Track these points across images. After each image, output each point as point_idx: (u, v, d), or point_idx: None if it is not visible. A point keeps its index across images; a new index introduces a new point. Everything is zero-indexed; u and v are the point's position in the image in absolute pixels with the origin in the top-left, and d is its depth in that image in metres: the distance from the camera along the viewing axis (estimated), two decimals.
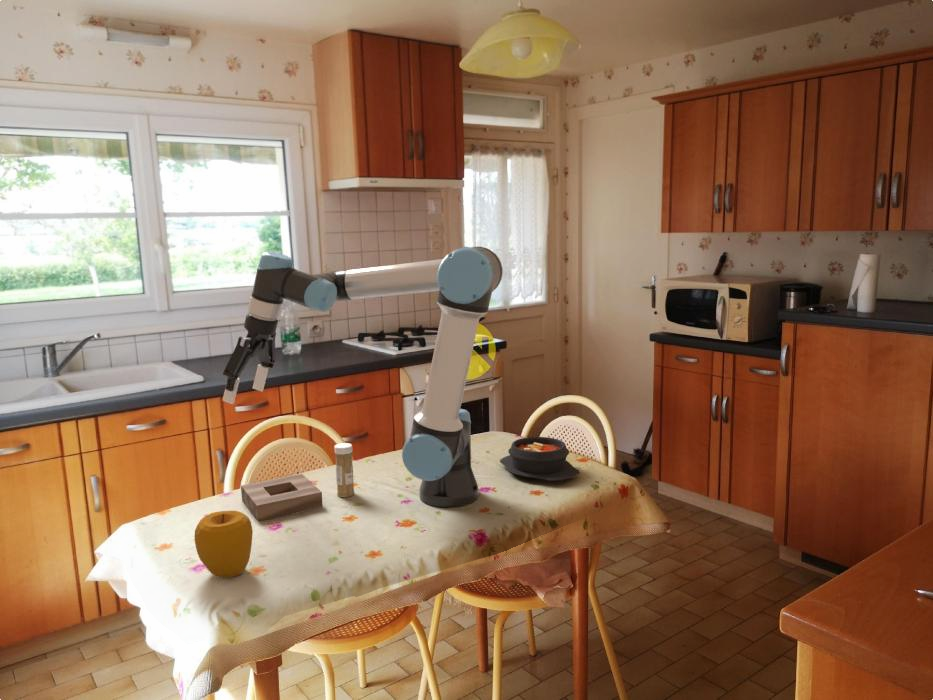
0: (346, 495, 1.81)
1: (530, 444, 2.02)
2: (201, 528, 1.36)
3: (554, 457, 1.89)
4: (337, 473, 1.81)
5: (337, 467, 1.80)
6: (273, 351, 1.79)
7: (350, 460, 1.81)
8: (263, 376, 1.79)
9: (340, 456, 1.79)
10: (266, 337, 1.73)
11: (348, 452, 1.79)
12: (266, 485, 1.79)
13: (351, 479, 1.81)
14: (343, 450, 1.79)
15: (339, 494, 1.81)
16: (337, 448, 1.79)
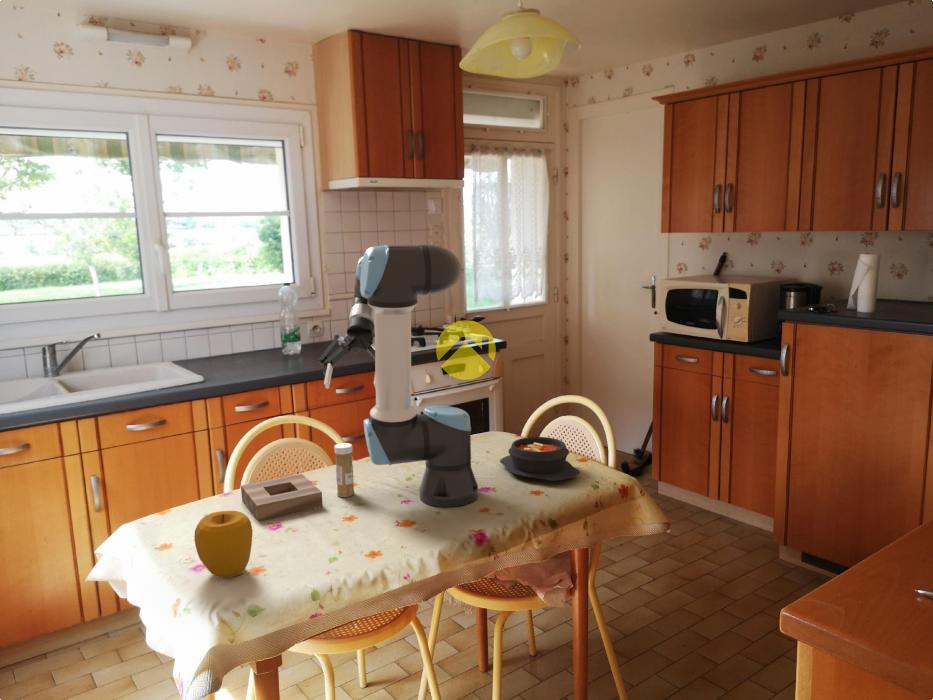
0: (346, 495, 1.81)
1: (530, 444, 2.02)
2: (201, 528, 1.36)
3: (554, 457, 1.89)
4: (337, 473, 1.81)
5: (337, 467, 1.80)
6: None
7: (350, 460, 1.81)
8: None
9: (340, 456, 1.79)
10: (366, 337, 1.97)
11: (348, 452, 1.79)
12: (266, 485, 1.79)
13: (351, 479, 1.81)
14: (343, 450, 1.79)
15: (339, 494, 1.81)
16: (337, 448, 1.79)
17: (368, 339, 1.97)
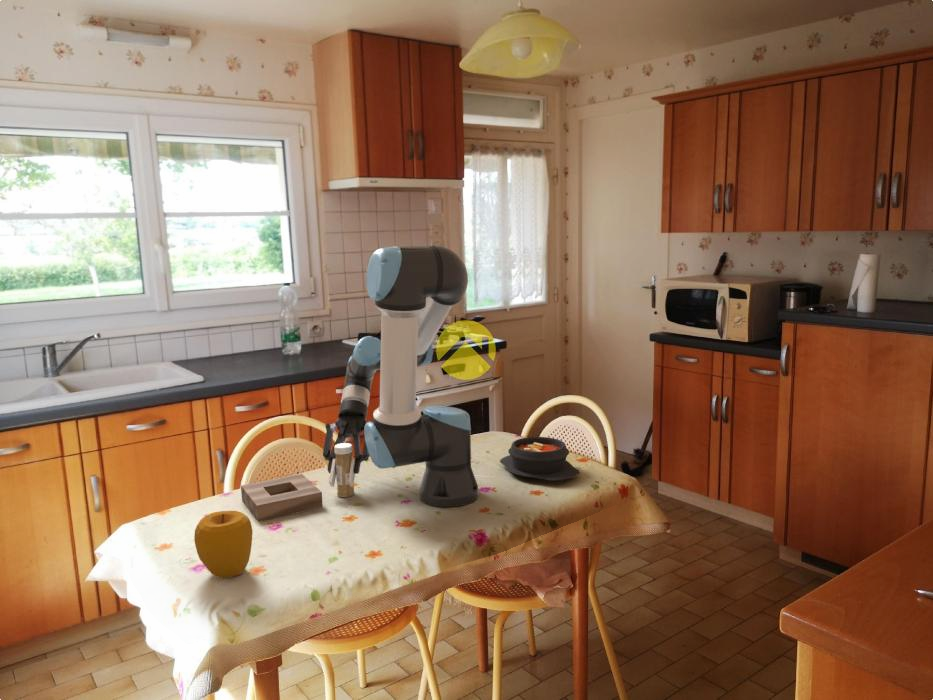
0: (346, 495, 1.81)
1: (530, 444, 2.02)
2: (201, 528, 1.36)
3: (554, 457, 1.89)
4: (337, 473, 1.81)
5: (337, 467, 1.80)
6: (366, 442, 1.84)
7: (350, 460, 1.81)
8: None
9: (340, 456, 1.79)
10: (359, 420, 1.88)
11: (348, 452, 1.79)
12: (266, 485, 1.79)
13: None
14: (343, 450, 1.79)
15: (339, 494, 1.81)
16: (337, 448, 1.79)
17: (359, 424, 1.87)
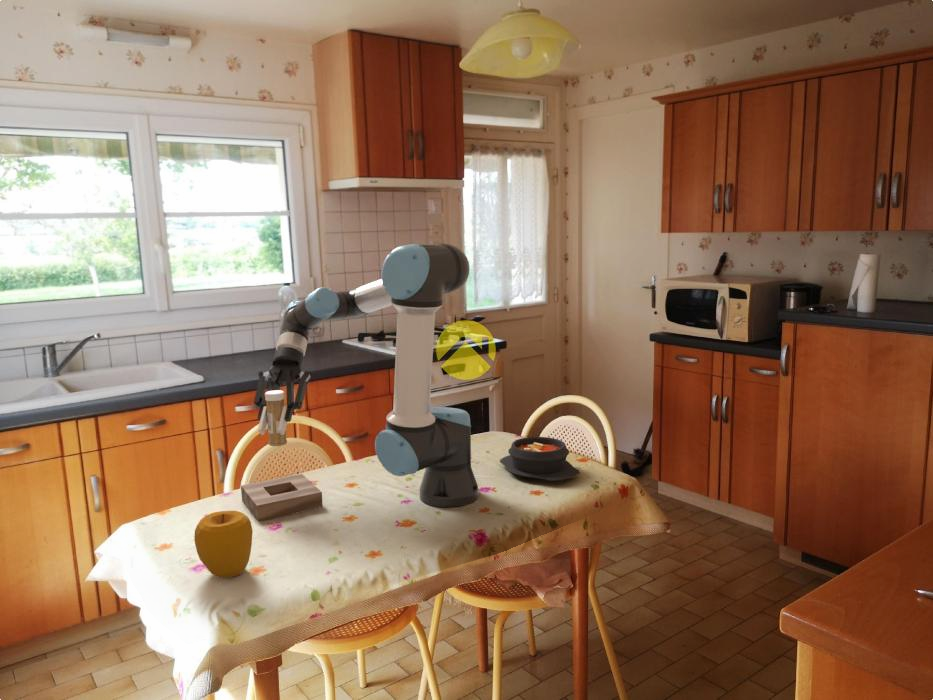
0: (277, 444, 1.73)
1: (530, 444, 2.02)
2: (200, 528, 1.36)
3: (554, 457, 1.89)
4: (268, 421, 1.73)
5: (268, 415, 1.72)
6: (299, 390, 1.76)
7: (281, 407, 1.73)
8: None
9: (270, 402, 1.71)
10: (294, 368, 1.80)
11: (279, 399, 1.72)
12: (266, 485, 1.79)
13: None
14: (273, 397, 1.71)
15: (270, 443, 1.73)
16: (267, 394, 1.71)
17: (294, 371, 1.79)
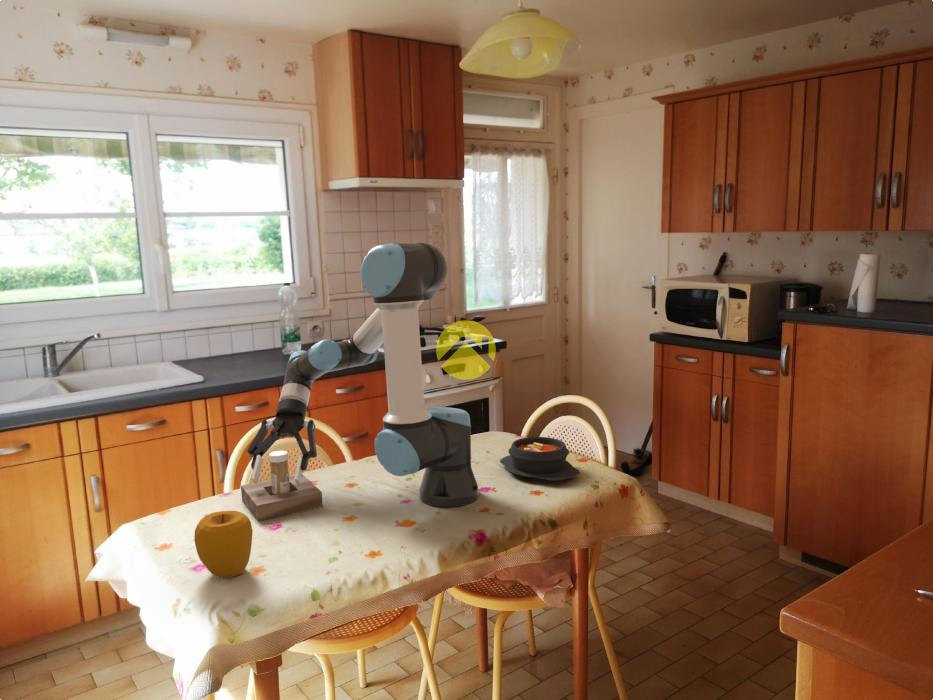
0: None
1: (530, 444, 2.02)
2: (200, 528, 1.36)
3: (554, 457, 1.89)
4: (272, 482, 1.75)
5: (272, 475, 1.75)
6: (310, 439, 1.78)
7: (285, 468, 1.75)
8: None
9: (274, 464, 1.74)
10: (296, 420, 1.82)
11: (283, 460, 1.74)
12: (266, 485, 1.79)
13: (287, 488, 1.76)
14: (277, 458, 1.73)
15: None
16: (271, 456, 1.74)
17: (298, 423, 1.81)
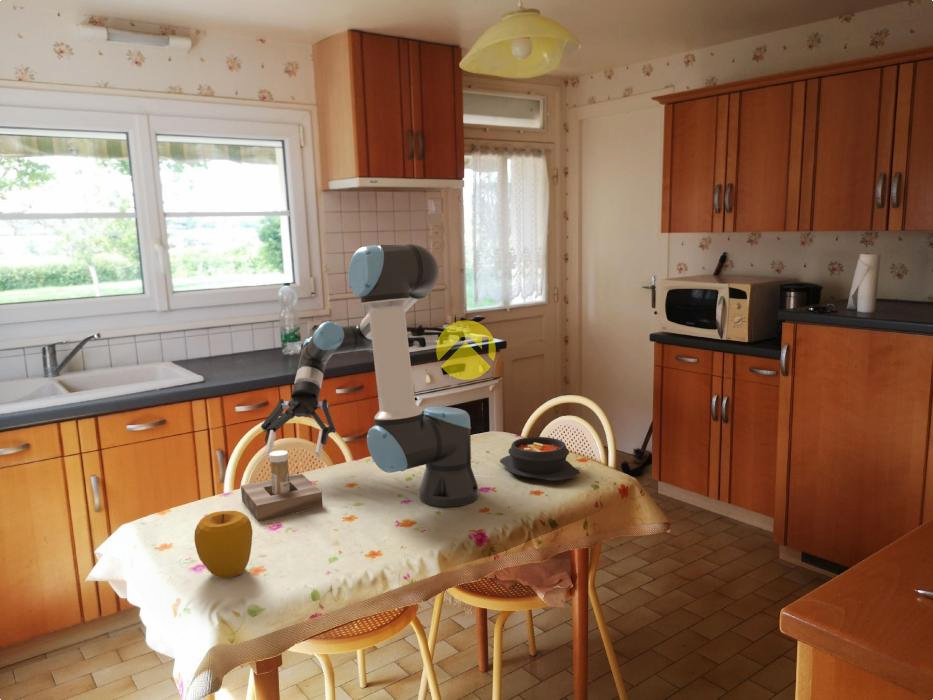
0: None
1: (530, 444, 2.02)
2: (200, 528, 1.36)
3: (554, 457, 1.89)
4: (272, 481, 1.75)
5: (272, 475, 1.75)
6: (327, 416, 1.91)
7: (285, 468, 1.75)
8: None
9: (274, 464, 1.74)
10: (311, 401, 1.94)
11: (283, 460, 1.74)
12: (266, 485, 1.79)
13: (287, 488, 1.76)
14: (278, 458, 1.73)
15: None
16: (272, 456, 1.74)
17: (312, 404, 1.93)
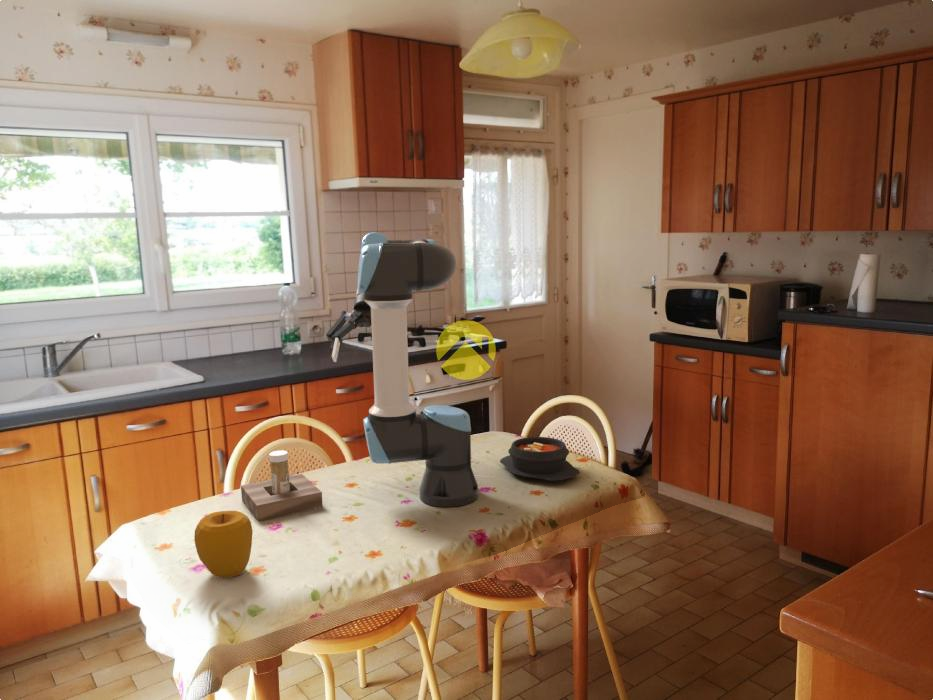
0: None
1: (530, 444, 2.02)
2: (201, 528, 1.36)
3: (554, 457, 1.89)
4: (272, 481, 1.75)
5: (272, 475, 1.75)
6: None
7: (285, 468, 1.75)
8: None
9: (274, 463, 1.74)
10: None
11: (283, 460, 1.74)
12: (266, 485, 1.79)
13: (287, 488, 1.76)
14: (277, 458, 1.73)
15: None
16: (271, 456, 1.74)
17: None
